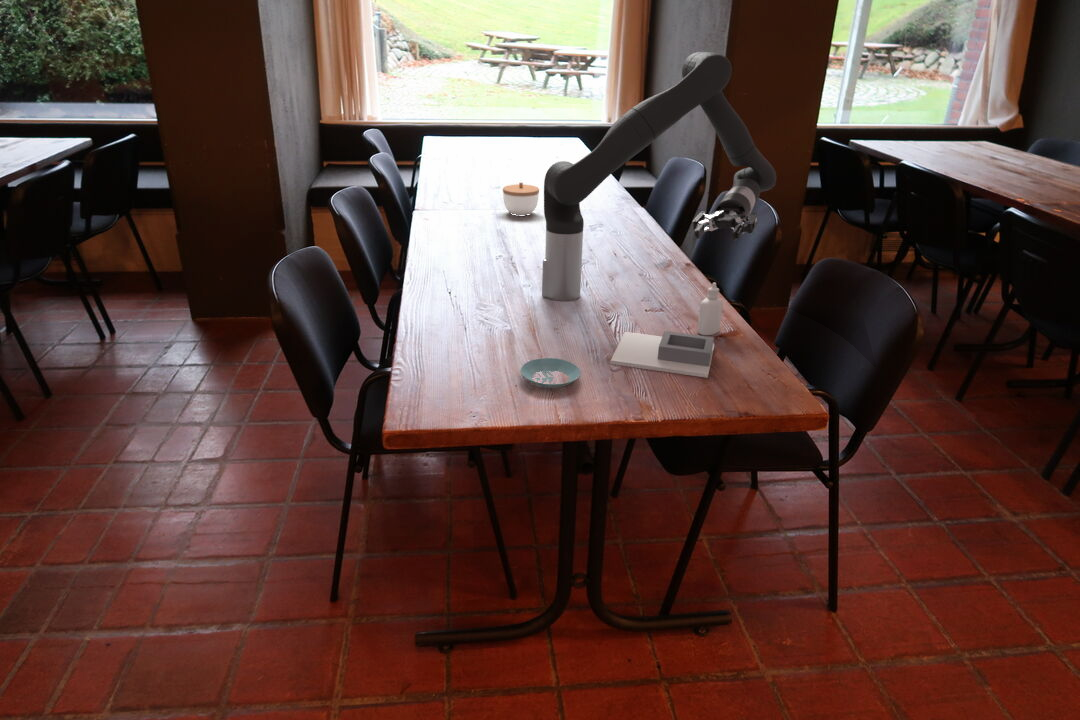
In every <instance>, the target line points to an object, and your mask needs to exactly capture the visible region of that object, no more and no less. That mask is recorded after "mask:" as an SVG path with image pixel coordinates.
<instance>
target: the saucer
mask: <svg viewBox="0 0 1080 720" xmlns="http://www.w3.org/2000/svg"><path fill="white" fill-rule="evenodd" d="M540 371H541V372H542V374H543V375H544V376H545V377H546V378H542V380H543V381H542V383H538V382H535V381H533V380H532V378H534V377H532V376H533V375H534V374H535V373H536V372H540ZM549 371H550V372H554V371H559V372H563V373H564V374H566V375H567V376H568V377H569V381H568V382H567V383H563V384H555V383H553V384H543V383H544V382H546V381H547V379H549V383H551V382H552V380H553V378H554V377H548V376H547V374H546V373H548V374H549V375H551V376H553V375H552V374H551V373H550V372H549ZM520 372H521V375H522V376H523V377H524V378H525V379H526V380H527V381H529V382H530V383H531V384H533V385H536V386H538V387H542V388H545V387H546V389H556V388H557V389H558V388H562V387H564V386H568V385H570V384H571V383H573V382H575V381H576V380H577V379H579V377H580V375H581V369H580V367H578V366H577V365H576V364H574V363H573V362H571V361H570V360H569V361H568V360H566V359H561V358H555V357H554V358H553V357H543V358H542V357H541V358H536V359H531V360H529V361H527V362H525V363H523V365H522V366H521V367H520ZM545 372H546V373H545ZM538 375H539V376H540V374H538ZM540 377H541V376H540ZM535 379H537V381H538V380H540V378H535Z"/></svg>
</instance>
